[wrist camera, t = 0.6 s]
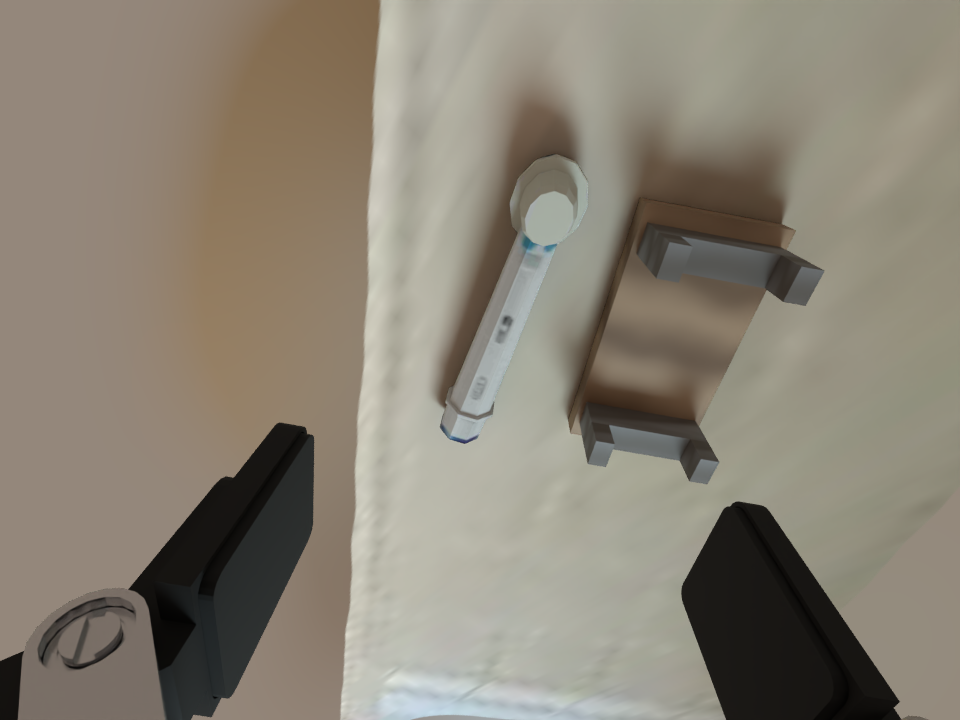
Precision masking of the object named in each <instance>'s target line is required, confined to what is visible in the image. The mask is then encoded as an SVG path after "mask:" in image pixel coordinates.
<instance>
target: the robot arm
mask: <svg viewBox="0 0 960 720" xmlns="http://www.w3.org/2000/svg"><path fill="white" fill-rule="evenodd" d="M313 482H314V437H313V435H310V434H307V431H306V428H305V427H302V426H296V425H291V424H284V423H278V424H276V425H275V426H274V428H273V429H272V430H271V431H270V433H269V434H268V435H267V436H266V438H265V439H264V440H263V441H262V443H261V444H260V445H259V447H258V448H257V449H256V450H255V452H254V453H253V454H252V455H251V457H250V458H249V459H248V460H247V462H246V463H245V464H244V466H243V467H242V468H241V469H240V471H239V472H238V473H237V474H236V476H235V477H234V478H232V477H224V478H222V479H220V480H219V481H218V482H217V483H216V484H215V485H214V486H213V488H212V489H211V490H210V491H209V493H208V494H207V495H206V496H205V498H204V499H203V500H202V501H201V502H200V504H199V505H198V506H197V507H196V508H195V509H194V511H193V512H192V513H191V514H190V516H189V517H188V518H187V519H186V520H185V522H184V523H183V524H182V525H181V527H180V528H179V529H178V530H177V531H176V532H175V534H174V535H173V536H172V537H171V538H170V540H169V541H168V542H167V543H166V545H165V546H164V547H163V548H162V549H161V551H160V552H159V553H158V554H157V555H156V557H155V558H154V559H153V560H152V561H151V563H150V564H149V565H148V566H147V567H146V569H145V570H144V571H143V572H142V574H141V575H140V576H139V577H138V578H137V580H136V581H135V582H134V583H133V584H132V586H131V587H130V588H129V589H128V590H127V589H123V588H112V589H103V590H99V591H95V592H91V593H87V594H85V595H83V596H81V597H78V598H76V599H74V600H72V601H69V602H68V603H66V604H65V605H63V606H62V607H60V608H59V609H57V610H56V611H54V612H53V613H51V614H50V615H49V616H48V617H47V618H46V619H45V620H44V621H43V622H42V623H41V624H40V625H39V626H38V627H37V628H36V629H35V631H34V632H33V634H32V635H31V637H30V638H29V640H28V641H27V643H26V646H25V650H24V651H23V652H20V653H18V654H16V655H13V656H11V657H9V658H7V659H4V660H2V661H0V720H191V718H192V716H193V715H201V716H207V717H212V715H213V713H214V711H215V709H216V707H217V705H218V703H219V701H220V699H221V698H230V697H231V696H232V694H233V693H234V691H235V689H236V688H237V685H238V683H239V681H240V679H241V677H242V675H243V673H244V671H245V669H246V667H247V665H248V663H249V661H250V659H251V657H252V655H253V653H254V651H255V649H256V647H257V644H258V642H259V640H260V638H261V636H262V634H263V632H264V630H265V628H266V626H267V624H268V622H269V619H270V618H271V616H272V614H273V612H274V609H275V608H276V605H277V603H278V601H279V599H280V597H281V595H282V593H283V591H284V589H285V587H286V585H287V583H288V581H289V579H290V577H291V574H292V573H293V571H294V569H295V566H296V564H297V562H298V560H299V558H300V556H301V554H302V552H303V550H304V548H305V546H306V544H307V542H308V539H309V537H310V534H311V531H312V526H313ZM681 595H682V601H683V604H684V607H685V610H686V612H687V615H688V618H689V620H690V623H691V626H692V628H693V631H694V634H695V637H696V639H697V642H698V645H699V647H700V650H701V653H702V656H703V658H704V661H705V664H706V666H707V669H708V672H709V674H710V677H711V680H712V683H713V685H714V688H715V691H716V693H717V696H718V699H719V702H720V704H721V707H722V710H723V712H724V715H725V718H726V720H928V719H925V718H922V717H917V716H907V717H905V718H903V719H901V718H900V717H899V715H898V714H897V712H896V711H895V709H894V707H895V706H896V705H897V704H898V703H899V700H898V699H897V697H896V696H895V694H894V693H893V691H892V690H891V688H890V687H889V685H888V684H887V682H886V681H885V679H884V678H883V677H882V675H881V674H880V672H879V671H878V669H877V668H876V666H875V665H874V663H873V662H872V661H871V659H870V658H869V656H868V655H867V653H866V652H865V650H864V649H863V647H862V646H861V644H860V643H859V641H858V640H857V639H856V637H855V636H854V634H853V633H852V631H851V630H850V628H849V627H848V625H847V624H846V622H845V621H844V620H843V618H842V617H841V615H840V614H839V612H838V611H837V609H836V608H835V606H834V605H833V604H832V602H831V601H830V599H829V598H828V596H827V595H826V593H825V592H824V590H823V589H822V587H821V586H820V585H819V583H818V582H817V580H816V579H815V577H814V576H813V574H812V573H811V571H810V570H809V568H808V567H807V566H806V564H805V563H804V561H803V560H802V558H801V557H800V555H799V554H798V552H797V551H796V549H795V548H794V547H793V545H792V544H791V542H790V541H789V539H788V538H787V536H786V535H785V533H784V532H783V530H782V529H781V528H780V526H779V525H778V523H777V522H776V520H775V519H774V517H773V516H772V514H771V513H770V511H769V510H768V509H767V508H766V507H764V506H762V505H756V504H750V503H744V502H735V503H733V504H732V505H731V506H730V507H726V508H724V510H723V511H722V513H721V515H720V517H719V519H718V520H717V522H716V524H715V526H714V528H713V530H712V532H711V533H710V535H709V537H708V539H707V541H706V543H705V544H704V546H703V548H702V550H701V552H700V554H699V555H698V557H697V559H696V561H695V563H694V565H693V566H692V568H691V570H690V572H689V574H688V576H687V578H686V579H685V581H684V583H683V586H682V591H681Z"/></svg>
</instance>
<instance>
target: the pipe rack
mask: <svg viewBox="0 0 960 720" xmlns="http://www.w3.org/2000/svg"><path fill="white" fill-rule="evenodd" d="M795 232H796V230H794V229H791V228H789V227H787V226H785V225H783V224H778V223H773V222H767V221H762V220H757V219H751V218H746V217H741V216H735V215H730V214H725V213H719V212H714V211H709V210H703V209H698V208H692V207H687V206H682V205H676V204H671V203H666V202H660V201H655V200H650V199H644V198H640V199H639V202H638V205H637V209H636V212H635V215H634V218H633V221H632V224H631V227H630V230H629V233H628V236H627V240H626V243H625V246H624V249H623V252H622V255H621V258H620V261H619V264H618V268H617V271H616V274H615V277H614V280H613V283H612V286H611V289H610V292H609V295H608V299H607V302H606V305H605V308H604V311H603V314H602V317H601V320H600V323H599V326H598V330H597V333H596V336H595V339H594V342H593V345H592V348H591V351H590V354H589V358H588V361H587V364H586V367H585V370H584V373H583V376H582V379H581V382H580V385H579V389H578V392H577V395H576V398H575V401H574V404H573V407H572V410H571V413H570V417H569V420H568V422H569V428H570V433H571V434H577V435H582V438H583V443H584V448H585V452H586V457H587V462H588V464H592V465H597V466H603V467H606V465H607V463H608V460H609V458H610V455H611V453H612V450H613V449H615V450H621V451H626V452H632V453H638V454H644V455H650V456H655V457H661V458H667V459H673V460H679V461H680V462H681V464H682V466H683V469H684V471H685V473H686V475H687V477H688V479H689V481H691V482H697V483H703V484H708V482H709V480H710V478H711V476H712V475H713V473H714V471H715V469H716V467H717V465H718V464H719V461H718V459H717V457H716V456H715V454H714V452H713V450H712V449H711V447H710V445H709V443H708V442H707V440H706V438H705V437H704V435H703V433H702V431H701V430H700V428H699V425H700V423H701V421H702V419H703V417H704V415H705V413H706V411H707V409H708V407H709V405H710V403H711V401H712V399H713V397H714V395H715V393H716V391H717V389H718V387H719V385H720V383H721V381H722V379H723V377H724V375H725V373H726V371H727V369H728V367H729V365H730V363H731V361H732V359H733V356H734V354H735V352H736V350H737V348H738V346H739V344H740V342H741V340H742V338H743V336H744V334H745V332H746V330H747V328H748V326H749V324H750V322H751V320H752V318H753V316H754V314H755V312H756V310H757V308H758V306H759V304H760V302H761V300H762V298H763V296H764V294H765V292H766V290H768V291H769V292H771V293H772V294H773V295H775V296H776V297H777V298H779V299H780V300H781V301H783V302H787V303H793V304H798V305H804V306H806V304H807V302H808V300H809V298H810V297H811V295H812V293H813V291H814V289H815V287H816V286H817V284H818V282H819V280H820V278H821V277H822V275H823V273H824V270H822V269H820V268H818V267H817V266H815V265H813V264H811V263H809V262H807V261H806V260H804V259H802V258H800V257H798V256H796V255H794V254H793V253H791V252H789V251H787V248H788V246H789V244H790V242H791V240H792V238H793V236H794V234H795Z"/></svg>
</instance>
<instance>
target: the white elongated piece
mask: <svg viewBox="0 0 960 720" xmlns="http://www.w3.org/2000/svg"><path fill="white" fill-rule="evenodd" d="M587 207H588V181H587V179H586V177H585V175H584V174H583V172H582V170H581V169H580V167H579V165H578V164H577V162H576V161H574V160H571V159H568V158H566V157H563V156H560V155H558V154H553V155H549V156H546V157H542V158H539V159H537V160H535V161H534V162H533V163H532V164H531V165H530V166H529V167H528V168H527V169H526V170H525V171H524V172H523V173H522V174H521V175H520V176H519V177H518V180H517V183H516V185H515V188H514V191H513V194H512V197H511V199H510V212H511V222H512V226H513V228H514V229H515V231H516V232H517V233H518V234H517V236H516V239H515V241H514V244H513V246H512V248H511V251H510V253H509V256H508V258H507V260H506V263H505V265H504V268H503V270H502V272H501V275H500V277H499V280H498V282H497V284H496V287H495V289H494V291H493V294H492V296H491V299H490V301H489V303H488V306H487V308H486V311H485V313H484V315H483V318H482V320H481V323H480V325H479V327H478V330H477V332H476V335H475V337H474V339H473V342H472V344H471V347H470V349H469V351H468V354H467V356H466V358H465V361H464V363H463V366H462V368H461V370H460V373H459V375H458V378H457V380H456V382H455V385H454V386H452V387H449V390H448V394H447V398H446V402H445V403H446V404H447V406H446V408H445V411H444V414H443V416H442V420H441V424H440V428H441V430H442V431H443V432H444V433H445V435H446V436H447V437H448V438H449V439H450V440H454V441H457V442H460V443H464V444H465V443H468V442H470V441H473V440H475V439H477V438H478V436H479V433H480V431H481V429H482V427H483V425H484V423H485V420H486V419H487V418H490V417H492V415H493V407H494V399H495V397H496V394H497V392H498V389H499V387H500V384H501V382H502V380H503V377H504V375H505V372H506V370H507V367H508V365H509V362H510V360H511V357H512V355H513V352H514V350H515V347H516V345H517V342H518V340H519V338H520V335H521V333H522V330H523V328H524V325H525V323H526V320H527V318H528V315H529V313H530V310H531V308H532V305H533V303H534V300H535V298H536V296H537V293H538V291H539V288H540V286H541V283H542V281H543V278H544V276H545V273H546V271H547V268H548V266H549V263H550V261H551V259H552V256H553V254H554V251H555V249H556V246H557V244H558V243H561V242H562V241H563V240H564V239H565V238H567V237H568V236H569V235H570V234H571V233H572V232H574V231H575V230H576V229H577V228H578V226H579V224H580V222H581V220H582V218H583V216H584V213H585V211H586V209H587Z"/></svg>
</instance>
